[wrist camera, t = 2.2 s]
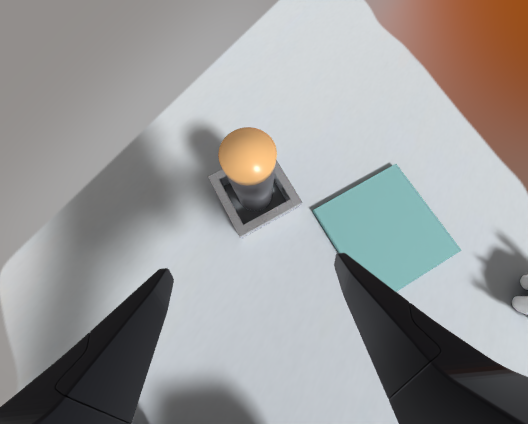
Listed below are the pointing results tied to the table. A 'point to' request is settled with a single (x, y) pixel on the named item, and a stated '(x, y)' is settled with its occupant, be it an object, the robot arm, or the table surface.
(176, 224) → the table surface
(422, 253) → the teal mat
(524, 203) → the table surface
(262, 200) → the grey orange domed cylinder
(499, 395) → the robot arm
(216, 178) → the collar
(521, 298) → the elephant figurine
